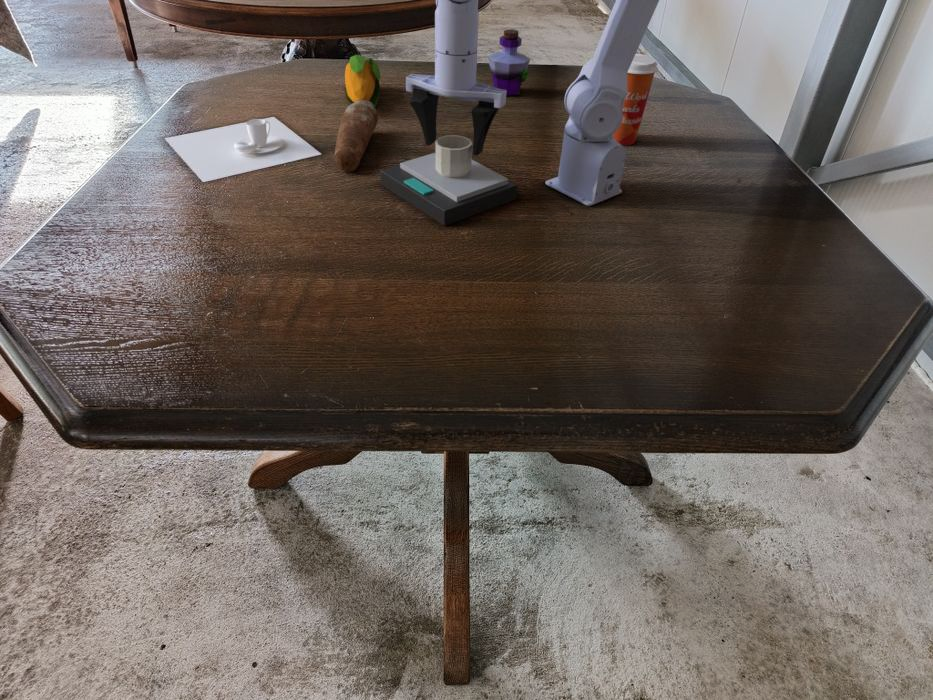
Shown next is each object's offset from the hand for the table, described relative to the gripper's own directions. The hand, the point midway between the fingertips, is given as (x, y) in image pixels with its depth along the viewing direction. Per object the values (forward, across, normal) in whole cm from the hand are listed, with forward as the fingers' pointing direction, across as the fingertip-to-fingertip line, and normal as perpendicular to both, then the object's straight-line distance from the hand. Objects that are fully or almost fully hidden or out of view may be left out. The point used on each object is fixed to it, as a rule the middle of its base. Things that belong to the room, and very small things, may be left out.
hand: (454, 147), depth 93 cm
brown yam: (+7, +20, -6) cm, 22 cm away
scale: (+7, 0, +1) cm, 7 cm away
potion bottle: (+7, +8, -47) cm, 48 cm away
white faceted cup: (+4, 0, 0) cm, 4 cm away
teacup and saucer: (+7, +39, +1) cm, 40 cm away
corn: (+7, +32, -28) cm, 43 cm away
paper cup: (+7, -19, -33) cm, 39 cm away
